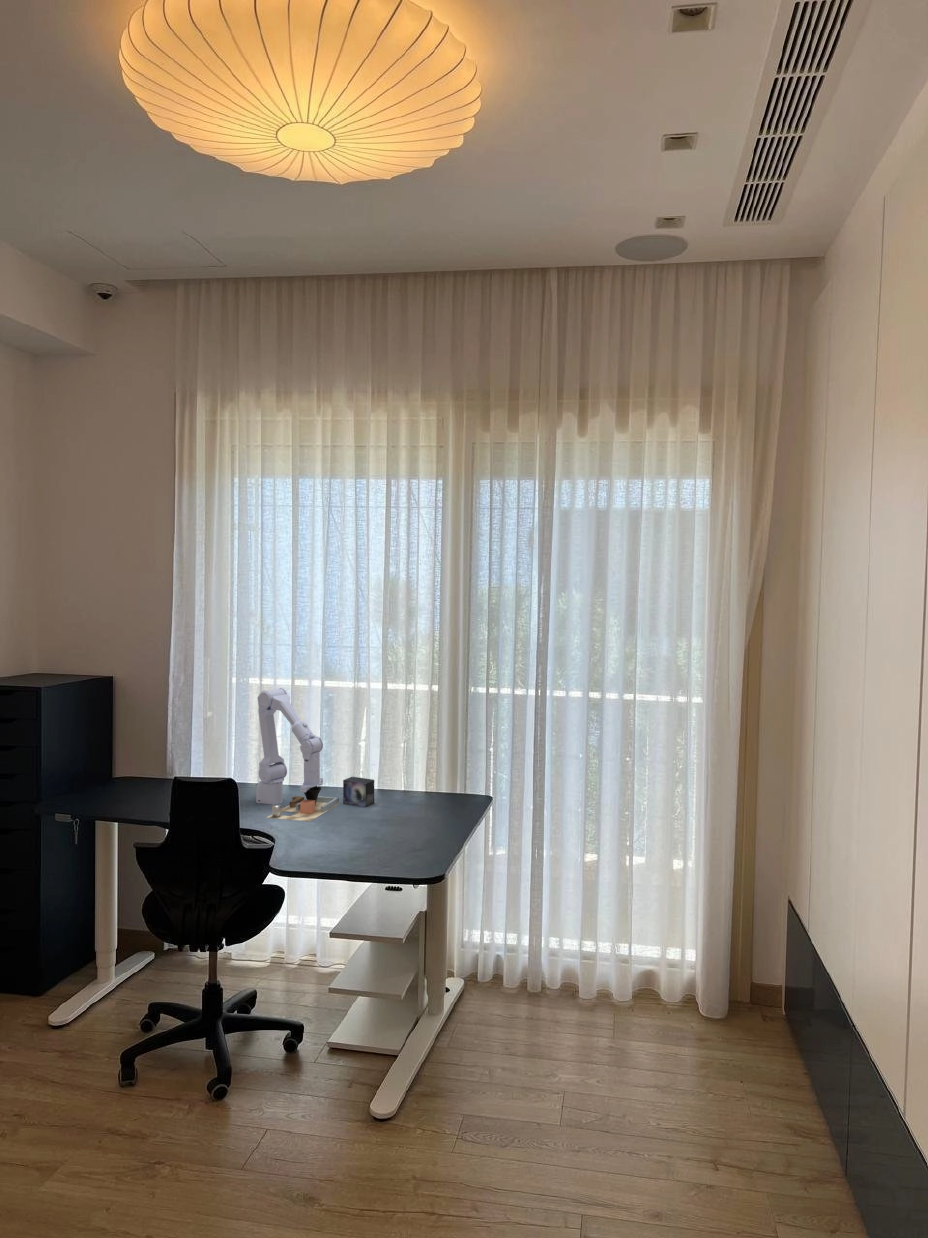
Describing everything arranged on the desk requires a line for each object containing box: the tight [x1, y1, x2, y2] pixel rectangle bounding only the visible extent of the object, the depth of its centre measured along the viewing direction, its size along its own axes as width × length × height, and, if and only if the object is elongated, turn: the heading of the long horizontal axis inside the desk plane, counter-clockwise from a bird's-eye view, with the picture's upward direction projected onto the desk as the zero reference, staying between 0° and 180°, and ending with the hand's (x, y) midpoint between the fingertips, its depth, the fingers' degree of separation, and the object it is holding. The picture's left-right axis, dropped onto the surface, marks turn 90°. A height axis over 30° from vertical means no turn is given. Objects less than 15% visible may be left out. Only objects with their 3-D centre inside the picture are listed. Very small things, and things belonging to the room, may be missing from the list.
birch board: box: [266, 802, 341, 822], centre depth 330 cm, size 17×26×1 cm, turn 164°
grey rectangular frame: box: [296, 795, 340, 813], centre depth 335 cm, size 11×14×2 cm
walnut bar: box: [289, 795, 305, 807], centre depth 338 cm, size 4×8×2 cm, turn 164°
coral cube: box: [300, 799, 315, 814], centre depth 327 cm, size 4×4×4 cm
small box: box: [342, 776, 375, 808], centre depth 339 cm, size 11×6×10 cm, turn 62°
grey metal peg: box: [271, 804, 282, 819], centre depth 321 cm, size 3×3×4 cm
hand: (312, 807), depth 330 cm, fingers closed
